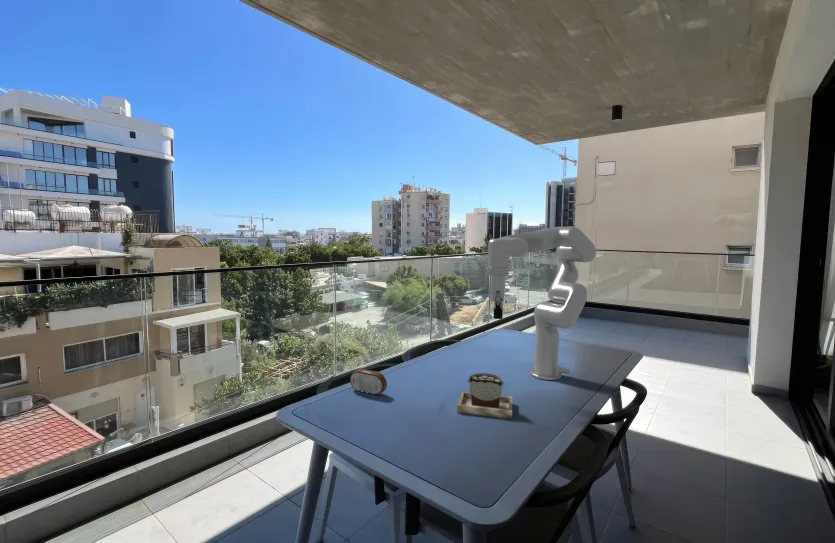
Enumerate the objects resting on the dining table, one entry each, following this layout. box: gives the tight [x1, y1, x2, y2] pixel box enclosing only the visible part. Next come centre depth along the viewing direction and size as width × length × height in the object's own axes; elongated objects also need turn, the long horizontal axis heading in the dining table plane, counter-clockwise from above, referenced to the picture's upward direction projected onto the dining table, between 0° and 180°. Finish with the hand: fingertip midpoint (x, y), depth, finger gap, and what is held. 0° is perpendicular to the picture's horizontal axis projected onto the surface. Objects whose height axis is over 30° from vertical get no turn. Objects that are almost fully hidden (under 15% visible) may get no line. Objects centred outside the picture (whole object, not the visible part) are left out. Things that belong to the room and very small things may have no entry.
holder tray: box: [456, 391, 513, 420], centre depth 134 cm, size 18×12×2 cm, turn 76°
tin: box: [349, 368, 388, 396], centre depth 146 cm, size 15×3×8 cm, turn 65°
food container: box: [467, 372, 505, 409], centre depth 136 cm, size 12×6×10 cm, turn 73°
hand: (498, 315), depth 149 cm, fingers open, 9 cm apart
